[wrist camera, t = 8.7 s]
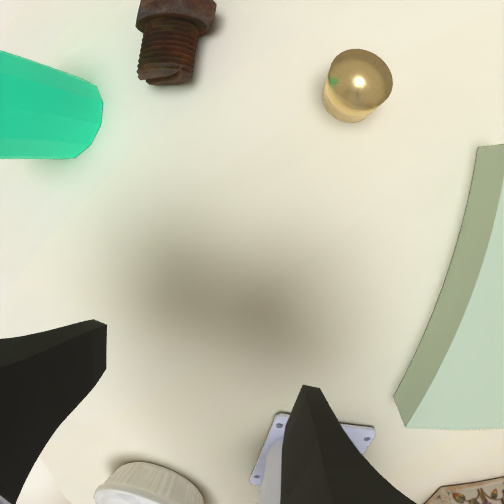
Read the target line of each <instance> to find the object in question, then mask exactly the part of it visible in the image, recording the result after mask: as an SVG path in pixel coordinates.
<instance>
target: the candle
mask: <svg viewBox="0 0 504 504" xmlns="http://www.w3.org/2000/svg"><path fill="white" fill-rule="evenodd" d="M102 109H103V102H102V99H101V97H100V94H99V92H98V89H97V87H96V86H95V85H93V84H91V83H89V82H87V81H85V80H83V79H81V78H78V77H76V76H73V75H70V74H68V73H65V72H63V71H60V70H57V69H54V68H52V67H49V66H46V65H43V64H40V63H38V62H35V61H32V60H29V59H26V58H23V57H20V56H17V55H14V54H10V53H7V52H4V51H1V50H0V159H68V158H76V157H77V156H78V155H79V154H80V153H82V152H83V151H84V150H85V149H87V148H88V147H89V146H90V145H91V143H92V141H93V139H94V137H95V135H96V133H97V132H98V130H99V128H100V126H101V119H102Z"/></svg>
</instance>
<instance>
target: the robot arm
mask: <svg viewBox="0 0 504 504" xmlns="http://www.w3.org/2000/svg"><path fill="white" fill-rule="evenodd" d="M106 342H107V325H106V324H104V323H101V322H99V321H96V320H94V319H93V320H88V321H83V322H79V323H75V324H72V325H68V326H64V327H60V328H57V329H53V330H49V331H45V332H40V333H35V334H31V335H26V336H21V337H14V338H5V339H0V504H16V501H17V498H18V496H19V494H20V492H21V489H22V487H23V485H24V483H25V481H26V479H27V477H28V475H29V473H30V471H31V469H32V467H33V465H34V463H35V462H36V460H37V458H38V457H39V455H40V453H41V452H42V450H43V448H44V447H45V445H46V444H47V442H48V441H49V439H50V438H51V436H52V435H53V433H54V432H55V431H56V429H57V428H58V427H59V426H60V424H61V423H62V422H63V421H64V420H65V419H66V418H67V416H68V415H69V414H70V413H71V412H72V411H73V410H74V409H75V408H76V407H77V406H78V404H79V403H80V402H81V401H82V400H83V399H84V398H85V397H86V396H87V395H88V393H89V392H90V391H91V390H92V389H93V388H94V386H95V385H96V384H97V382H98V381H99V379H100V378H101V376H102V375H103V373H104V371H105V370H106ZM278 423H281V425H279V424H278ZM375 435H376V431H375V429H374V428H372V427H364V426H355V425H348V424H341V423H339V421H338V420H337V418H336V416H335V414H334V413H333V411H332V409H331V407H330V406H329V404H328V402H327V400H326V398H325V397H324V395H323V393H322V391H321V389H320V388H316V387H311V386H307V385H302V388H301V390H300V393H299V395H298V398H297V400H296V402H295V405H294V407H293V409H292V412H291V414H290V415H289V414H284V413H280V414H277V415H276V416H275V418H274V421H273V423H272V426H271V429H270V431H269V433H268V436H267V438H266V441H265V443H264V446H263V448H262V451H261V453H260V455H259V458H258V460H257V462H256V465H255V467H254V469H253V472H252V474H251V476H250V479H249V482H250V483H251V484H253V485H257V486H260V487H259V493H258V500H257V504H416V503H415V502H413V501H412V500H411V499H409V498H408V497H406V496H405V495H404V494H402V493H401V492H400V491H398V490H397V489H396V488H395V487H393V486H392V485H391V484H390V483H389V482H388V481H387V480H386V479H385V478H383V477H382V476H381V475H380V474H379V473H378V472H377V471H376V470H375V469H374V468H373V467H372V465H371V464H370V463H369V462H368V461H367V460H366V459H365V458H364V457H363V453H364V452H365V450H366V449H367V447H368V446H369V444H370V443H371V441H372V439H373V438H374V436H375ZM366 437H367V438H366Z"/></svg>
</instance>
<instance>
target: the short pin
mask: <svg viewBox="0 0 504 504" xmlns="http://www.w3.org/2000/svg"><path fill="white" fill-rule="evenodd" d="M392 85H393V81H392V75H391V72H390V70H389V68H388V66H387V65H386V64H385V62H384V61H383V60H382V59H381V58H379V57H378V56H377V55H375V54H373V53H371V52H369V51H366V50H362V49H350V50H346V51H344V52H342V53H340V54H339V55H338V56H337V57H336V58H335V59H334V60H333V62H332V64H331V67H330V70H329V73H328V76H327V80H326V83H325V86H324V89H323V102H324V105H325V107H326V109H327V110H328V112H329V113H330V114H331V115H332V116H333V117H335V118H336V119H338V120H341V121H343V122H350V123H351V122H358V121H361V120H363V119H364V118H366V117H367V116H368V115H369V114H370V113H371V112H372V111H374V110H375V109H376V108H377V107H378V106H379V105H380V104H382V103H383V102H384V101H385V100H386V99H387V98H388V97H389V95H390V93H391V91H392Z"/></svg>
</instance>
